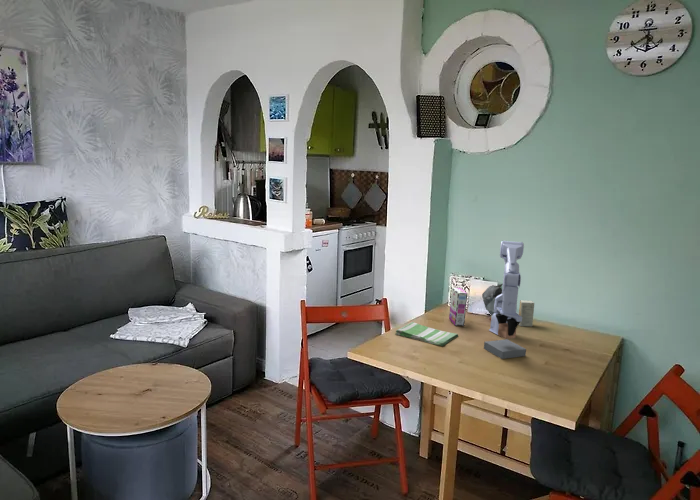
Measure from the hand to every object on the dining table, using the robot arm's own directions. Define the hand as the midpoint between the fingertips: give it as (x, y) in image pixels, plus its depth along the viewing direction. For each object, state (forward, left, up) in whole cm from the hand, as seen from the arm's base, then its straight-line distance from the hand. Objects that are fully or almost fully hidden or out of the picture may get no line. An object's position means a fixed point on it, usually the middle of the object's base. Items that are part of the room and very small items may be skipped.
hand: (506, 333), depth 212 cm
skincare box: (-28, +35, -9) cm, 46 cm away
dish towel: (-27, -22, -9) cm, 36 cm away
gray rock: (-41, +25, -9) cm, 49 cm away
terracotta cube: (0, 0, -2) cm, 2 cm away
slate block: (0, 0, -8) cm, 8 cm away
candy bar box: (-40, +3, -9) cm, 41 cm away
